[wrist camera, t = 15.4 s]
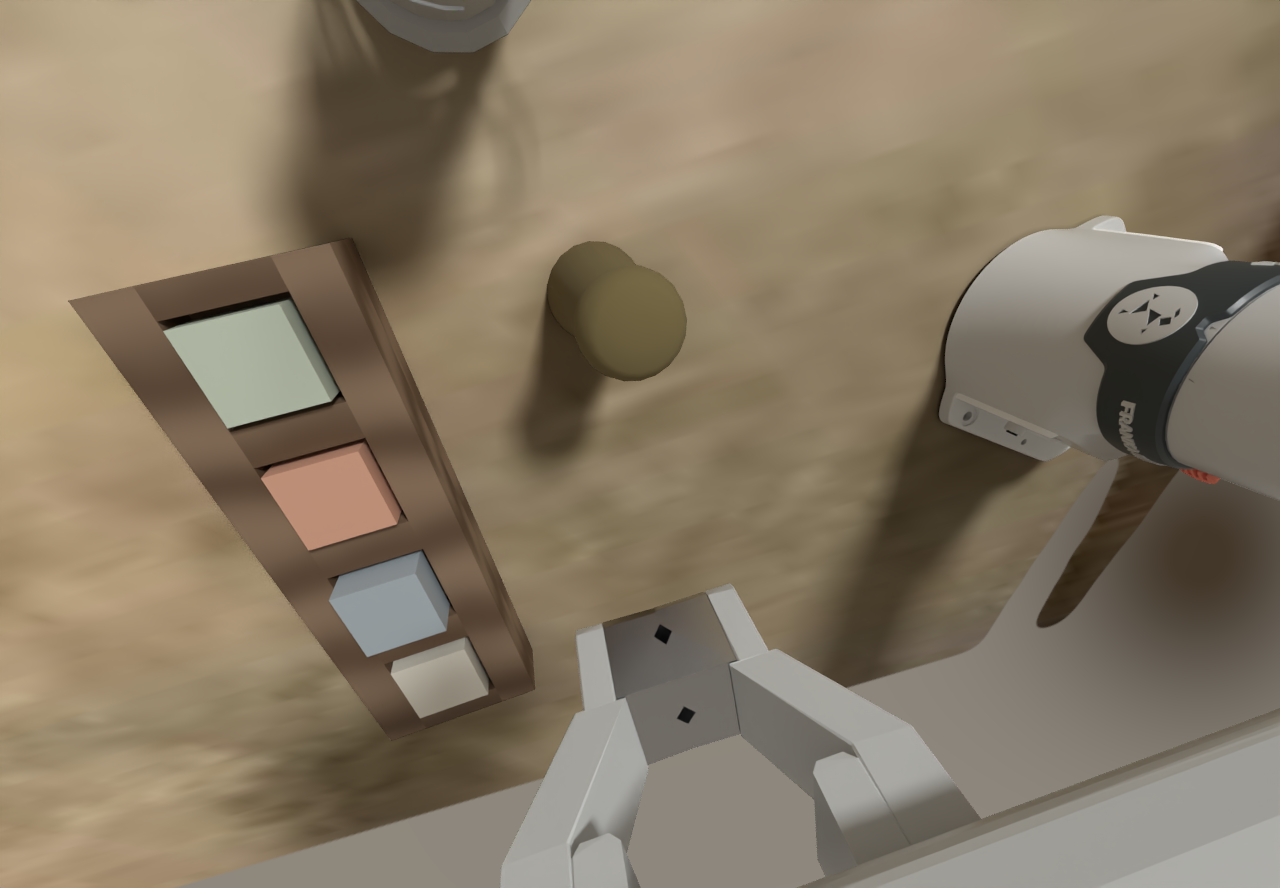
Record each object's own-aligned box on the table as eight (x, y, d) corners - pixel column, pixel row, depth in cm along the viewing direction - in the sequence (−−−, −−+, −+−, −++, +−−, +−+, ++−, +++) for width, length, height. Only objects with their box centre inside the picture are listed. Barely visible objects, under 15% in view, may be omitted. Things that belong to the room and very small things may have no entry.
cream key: (397, 645, 36) (390, 674, 34) (466, 622, 37) (464, 649, 34) (424, 689, 38) (419, 718, 36) (488, 666, 39) (488, 694, 37)
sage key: (192, 319, 25) (162, 331, 22) (298, 295, 25) (279, 304, 23) (249, 410, 27) (227, 428, 25) (344, 385, 28) (331, 401, 25)
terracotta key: (278, 457, 28) (260, 478, 26) (368, 432, 29) (358, 451, 27) (322, 526, 31) (308, 550, 28) (404, 501, 31) (397, 524, 29)
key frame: (128, 287, 25) (68, 300, 22) (351, 237, 27) (329, 242, 23) (400, 694, 41) (391, 740, 37) (532, 649, 42) (535, 689, 39)
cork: (575, 357, 32) (607, 422, 23) (528, 269, 29) (542, 301, 20) (657, 314, 33) (723, 360, 23) (618, 222, 30) (676, 232, 20)
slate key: (340, 573, 31) (328, 600, 29) (421, 548, 32) (415, 573, 30) (375, 627, 34) (367, 657, 31) (449, 603, 34) (446, 630, 32)
